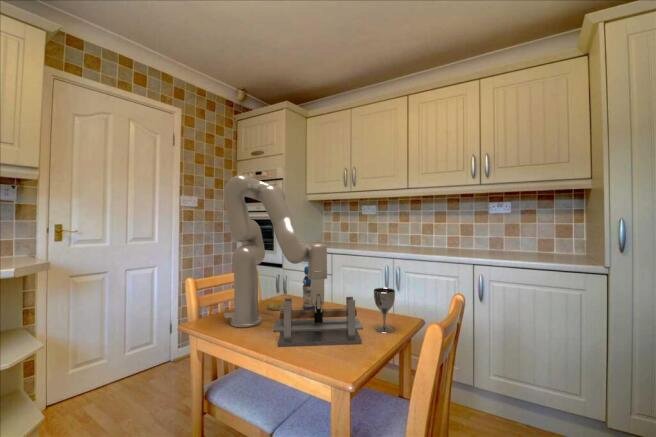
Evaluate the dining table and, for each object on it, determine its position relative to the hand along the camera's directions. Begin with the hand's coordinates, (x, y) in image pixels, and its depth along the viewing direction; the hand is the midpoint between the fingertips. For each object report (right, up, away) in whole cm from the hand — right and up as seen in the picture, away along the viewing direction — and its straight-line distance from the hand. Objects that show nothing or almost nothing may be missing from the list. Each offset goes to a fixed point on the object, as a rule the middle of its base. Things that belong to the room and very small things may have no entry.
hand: (318, 320), depth 120 cm
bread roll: (-20, -3, +24) cm, 32 cm away
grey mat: (0, -2, 0) cm, 2 cm away
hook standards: (+1, -2, -14) cm, 14 cm away
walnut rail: (0, +2, 0) cm, 2 cm away
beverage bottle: (-4, -2, +21) cm, 21 cm away
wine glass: (+25, -2, -5) cm, 26 cm away
